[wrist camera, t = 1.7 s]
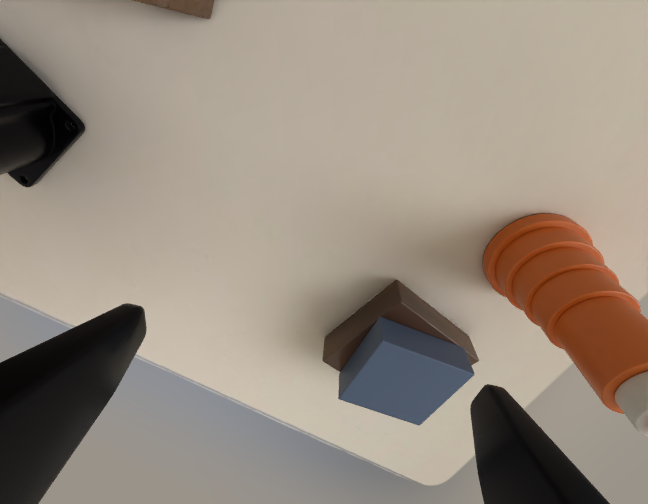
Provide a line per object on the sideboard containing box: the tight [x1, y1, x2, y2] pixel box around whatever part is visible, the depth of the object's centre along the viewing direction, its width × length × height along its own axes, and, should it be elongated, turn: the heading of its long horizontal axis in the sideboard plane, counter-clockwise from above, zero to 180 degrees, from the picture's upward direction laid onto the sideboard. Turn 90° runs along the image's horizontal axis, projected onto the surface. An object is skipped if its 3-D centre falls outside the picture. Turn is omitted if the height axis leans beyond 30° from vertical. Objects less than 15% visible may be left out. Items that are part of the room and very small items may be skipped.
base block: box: [323, 280, 479, 372], centre depth 24 cm, size 8×8×2 cm
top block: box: [339, 317, 474, 425], centre depth 22 cm, size 7×7×2 cm
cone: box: [483, 214, 648, 436], centre depth 15 cm, size 6×6×12 cm
